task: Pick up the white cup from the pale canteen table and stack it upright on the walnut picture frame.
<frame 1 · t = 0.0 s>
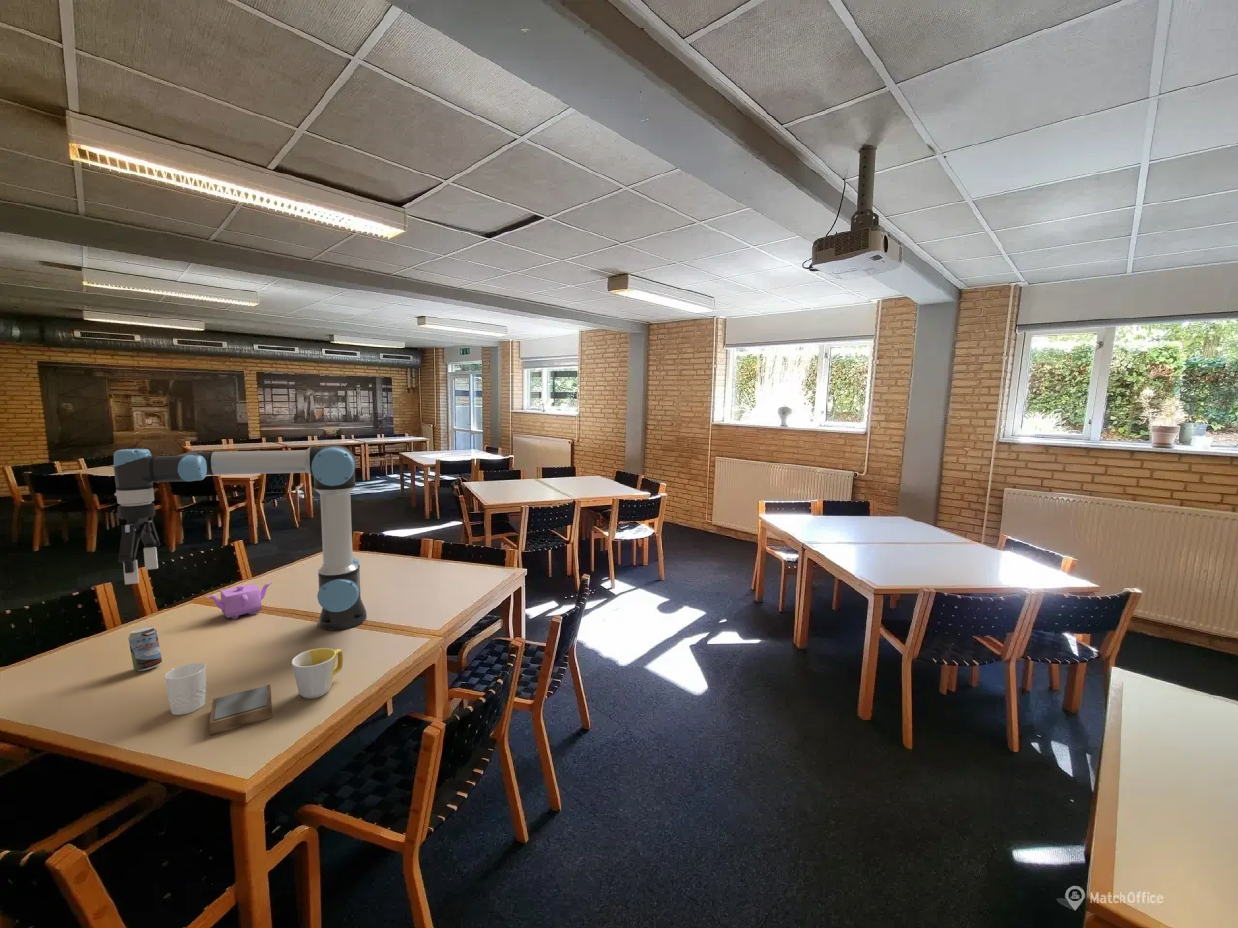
hand: (142, 575, 142), 28 cm above the table, fingers open, 13 cm apart
teapot: (242, 614, 183), on the table
mug: (322, 690, 135), on the table
white cup: (188, 708, 126), on the table
beverage can: (147, 668, 145), on the table
walnut picture frame: (242, 713, 124), on the table
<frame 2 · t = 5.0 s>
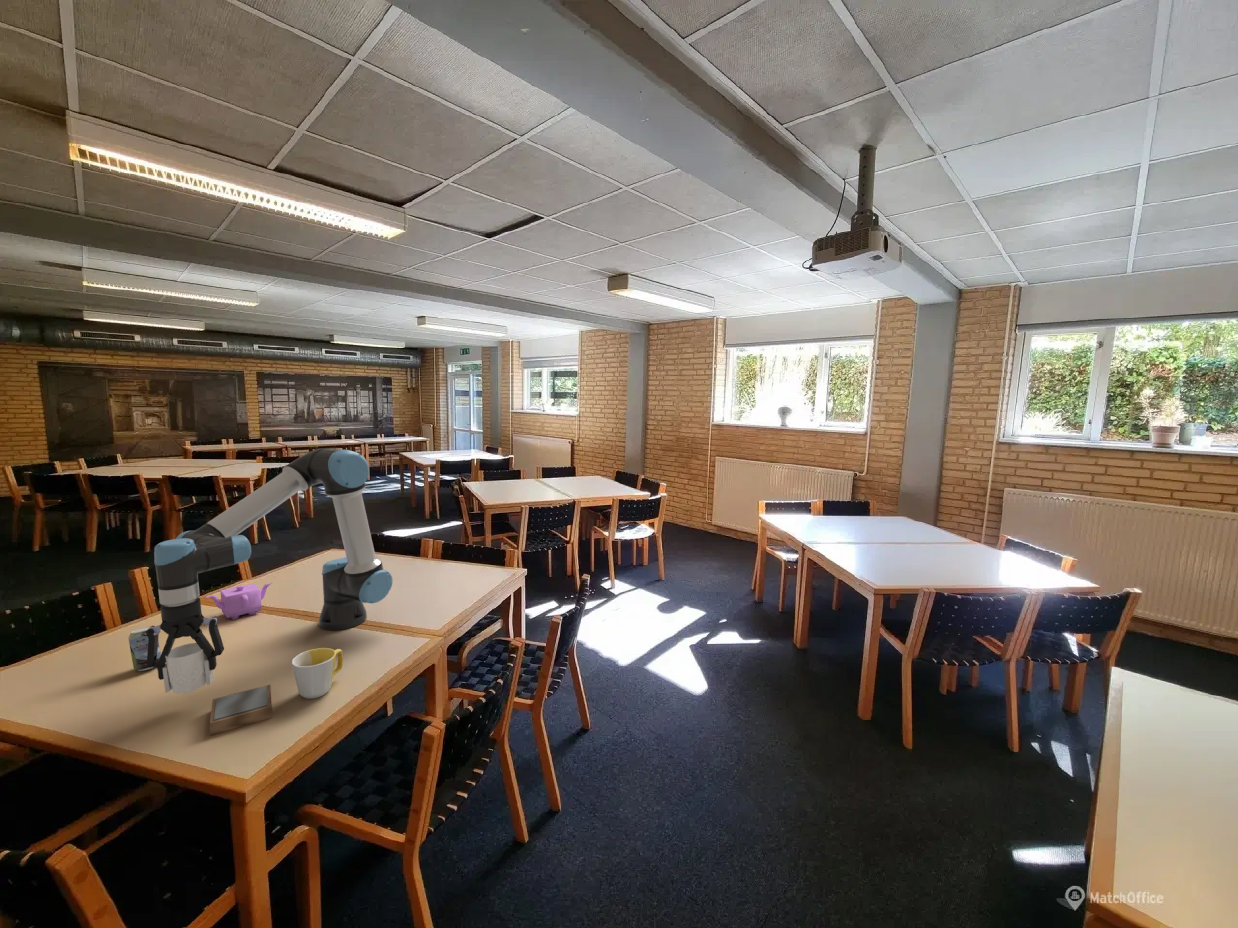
hand: (189, 685, 126), 6 cm above the table, fingers closed on white cup, 7 cm apart
white cup: (190, 687, 127), point 5 cm above the table, touching gripper
everything else where it was.
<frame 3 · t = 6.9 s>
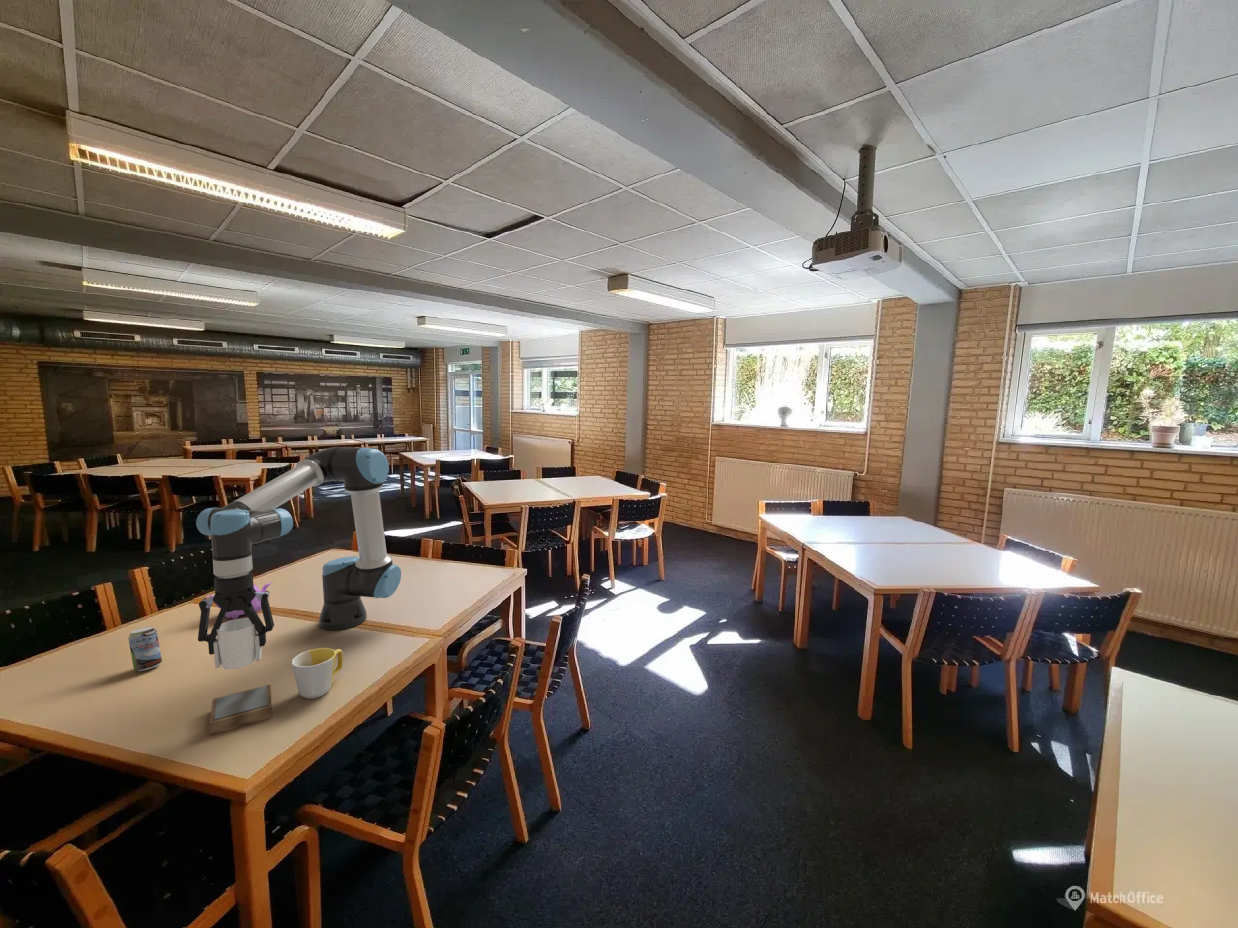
hand: (239, 661, 123), 14 cm above the table, fingers closed on white cup, 7 cm apart
white cup: (239, 663, 123), point 13 cm above the table, touching gripper
everything else where it was.
when the fingers open (4 cm above the table, at t = 8.9 s): white cup stays where it is, resting on walnut picture frame.
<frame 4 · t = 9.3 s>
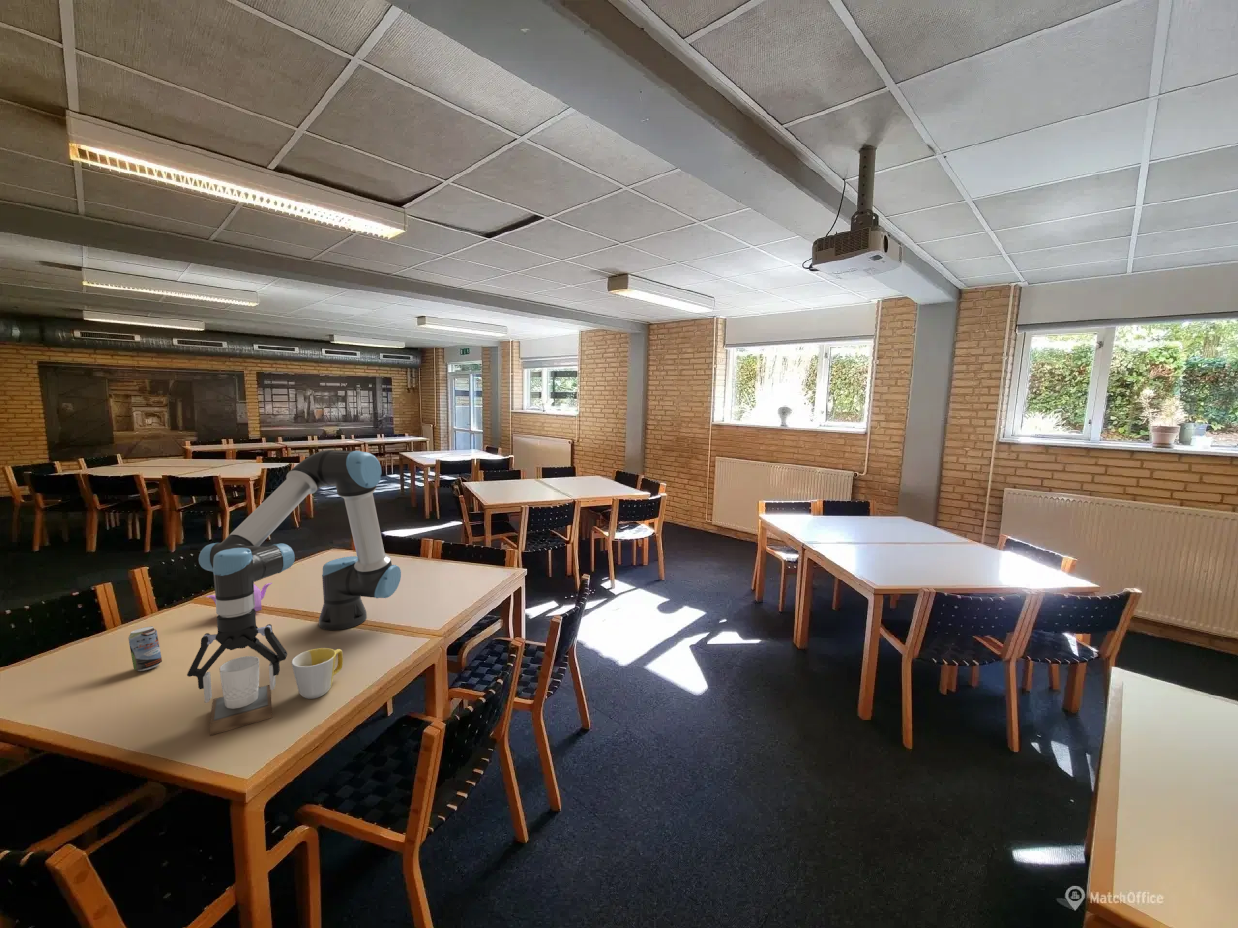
hand: (241, 693, 124), 6 cm above the table, fingers open, 12 cm apart
white cup: (242, 701, 124), point 3 cm above the table, touching walnut picture frame
everything else where it was.
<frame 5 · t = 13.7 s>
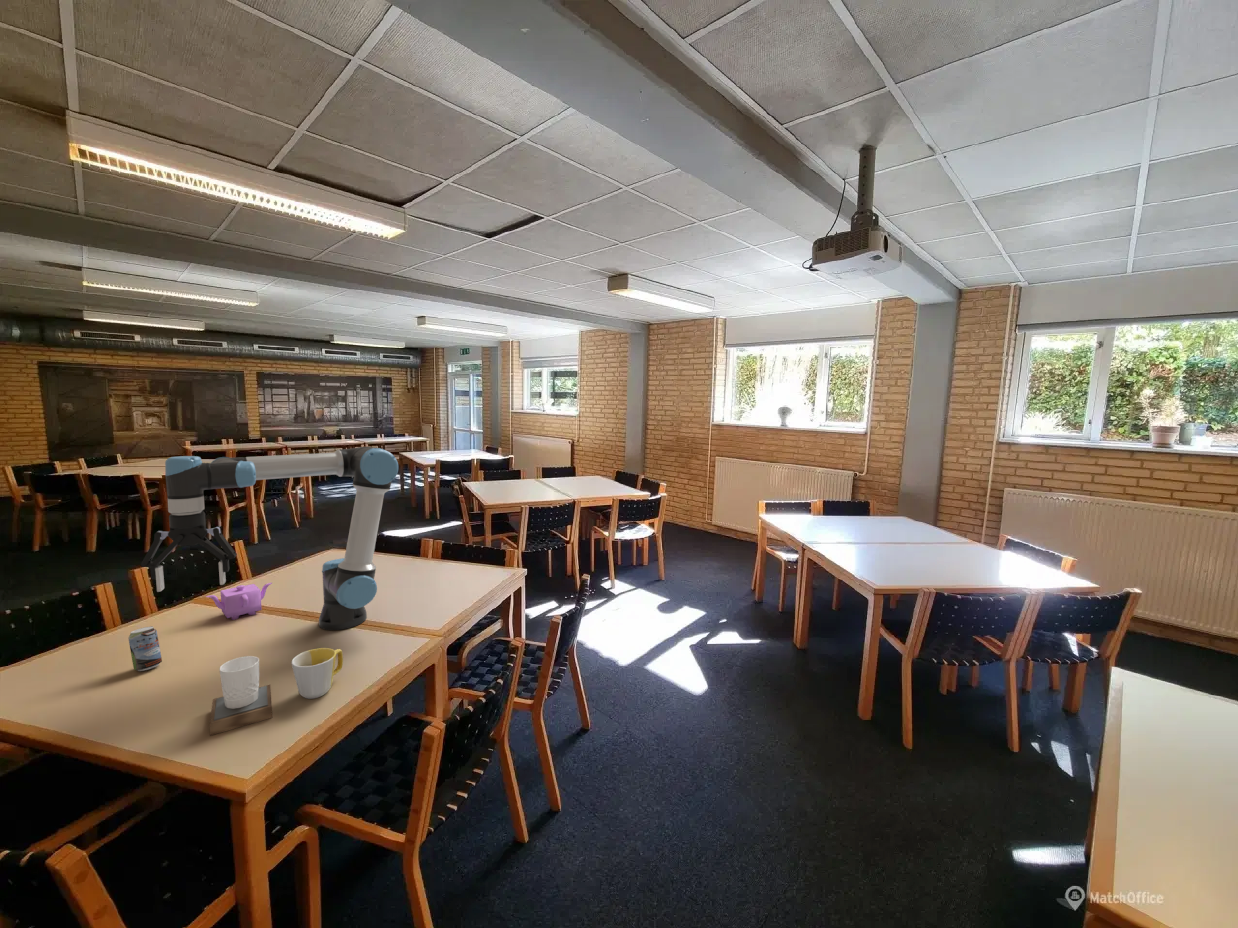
hand: (192, 586, 138), 27 cm above the table, fingers open, 13 cm apart
nothing on the table moved.
at the end: white cup inside the target area on the walnut picture frame (0.2 cm from its centre), point 3.1 cm above the walnut picture frame's base; white cup tilted 0°; the gripper is holding nothing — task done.
